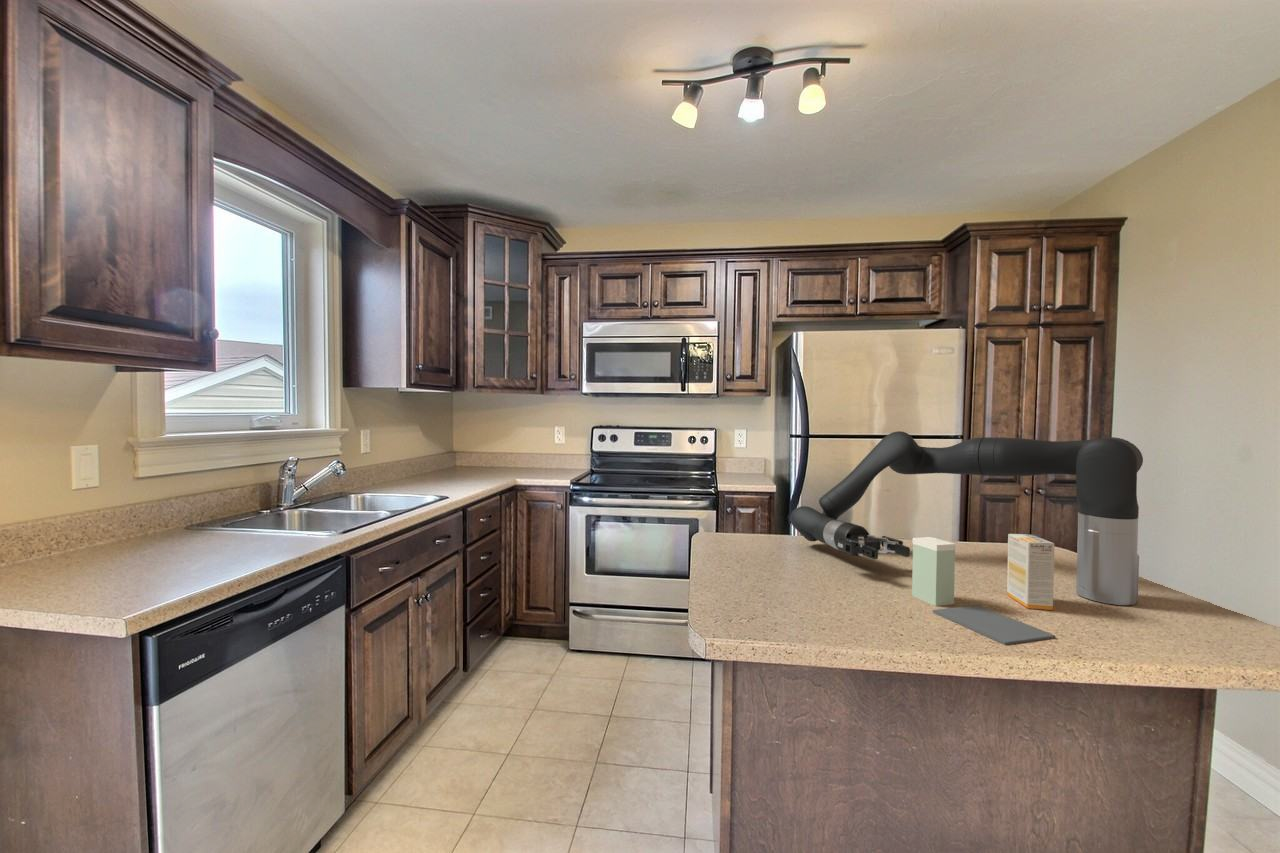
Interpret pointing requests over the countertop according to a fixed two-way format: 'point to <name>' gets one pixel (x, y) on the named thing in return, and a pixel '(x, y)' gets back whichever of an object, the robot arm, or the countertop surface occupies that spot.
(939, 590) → the sage block
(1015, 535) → the supplement box
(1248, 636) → the countertop surface
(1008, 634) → the mat
